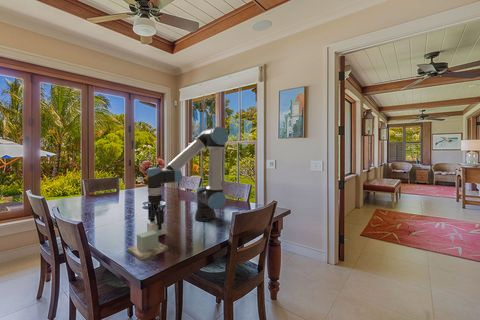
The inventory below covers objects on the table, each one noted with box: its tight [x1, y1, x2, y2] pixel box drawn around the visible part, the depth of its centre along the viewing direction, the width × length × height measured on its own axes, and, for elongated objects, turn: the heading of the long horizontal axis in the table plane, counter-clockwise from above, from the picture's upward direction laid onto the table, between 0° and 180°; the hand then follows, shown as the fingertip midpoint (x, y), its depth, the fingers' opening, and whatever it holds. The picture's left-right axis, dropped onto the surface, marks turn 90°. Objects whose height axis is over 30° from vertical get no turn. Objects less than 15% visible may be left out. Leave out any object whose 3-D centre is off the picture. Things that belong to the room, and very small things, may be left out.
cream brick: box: [146, 220, 166, 236], centre depth 135 cm, size 8×6×7 cm
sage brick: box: [136, 230, 159, 252], centre depth 115 cm, size 8×6×7 cm
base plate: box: [126, 241, 169, 261], centre depth 115 cm, size 14×14×2 cm
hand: (156, 233), depth 135 cm, fingers closed on cream brick, 6 cm apart
